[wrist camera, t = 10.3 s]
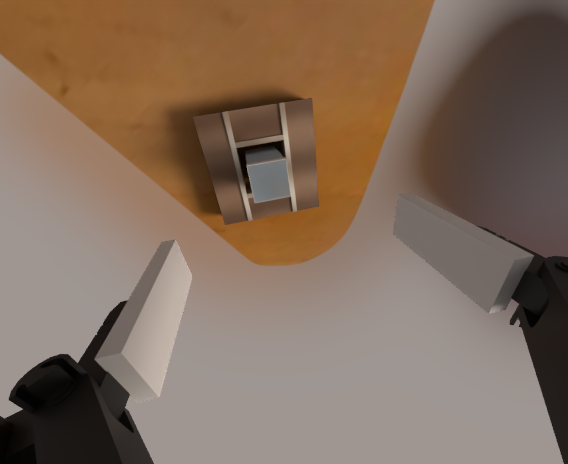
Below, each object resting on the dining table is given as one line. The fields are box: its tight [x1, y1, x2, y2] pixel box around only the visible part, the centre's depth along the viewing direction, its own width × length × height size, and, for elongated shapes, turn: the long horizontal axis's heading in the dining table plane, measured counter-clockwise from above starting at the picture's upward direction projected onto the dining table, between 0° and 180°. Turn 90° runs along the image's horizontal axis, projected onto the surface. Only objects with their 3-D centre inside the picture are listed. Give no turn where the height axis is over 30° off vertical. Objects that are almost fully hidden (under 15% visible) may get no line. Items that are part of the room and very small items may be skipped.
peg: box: [245, 146, 291, 203], centre depth 28 cm, size 4×4×10 cm
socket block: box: [193, 98, 319, 225], centre depth 31 cm, size 14×14×4 cm
